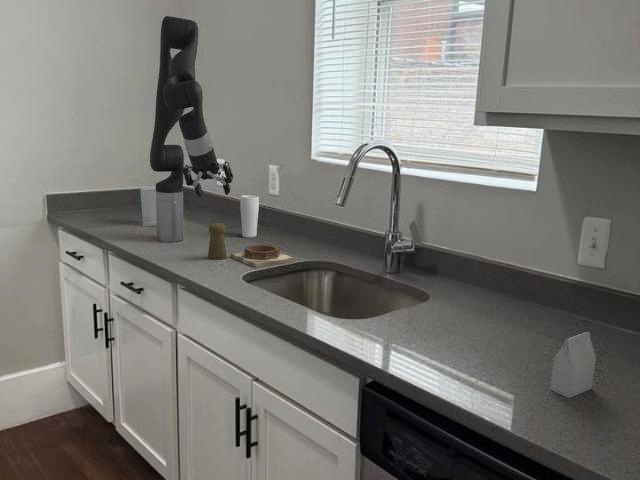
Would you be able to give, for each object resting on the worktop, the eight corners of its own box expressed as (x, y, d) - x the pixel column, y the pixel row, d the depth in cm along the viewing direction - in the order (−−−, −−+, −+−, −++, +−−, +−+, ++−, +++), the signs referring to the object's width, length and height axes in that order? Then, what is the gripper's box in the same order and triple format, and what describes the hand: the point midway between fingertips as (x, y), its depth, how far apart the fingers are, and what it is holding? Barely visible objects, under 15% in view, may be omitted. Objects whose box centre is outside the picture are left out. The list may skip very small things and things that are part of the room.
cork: (222, 260, 179) (222, 225, 177) (204, 259, 181) (204, 224, 178) (229, 256, 185) (229, 222, 183) (211, 254, 186) (211, 221, 184)
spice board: (230, 257, 184) (230, 246, 183) (267, 251, 193) (268, 241, 192) (255, 267, 173) (255, 256, 172) (294, 261, 181) (294, 250, 180)
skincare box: (164, 223, 234) (163, 186, 230) (163, 226, 228) (162, 188, 225) (142, 223, 232) (141, 186, 229) (141, 226, 226) (140, 188, 223)
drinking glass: (236, 237, 213) (236, 196, 210) (245, 233, 219) (246, 194, 216) (253, 239, 211) (253, 198, 207) (261, 235, 217) (262, 196, 213)
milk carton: (591, 388, 102) (599, 335, 100) (569, 398, 98) (576, 343, 96) (572, 380, 105) (579, 328, 103) (549, 389, 101) (556, 335, 99)
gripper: (226, 139, 170) (239, 186, 180) (180, 143, 172) (195, 189, 182) (220, 152, 164) (233, 199, 174) (172, 156, 166) (188, 202, 176)
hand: (214, 194), depth 178 cm, fingers open, 8 cm apart
